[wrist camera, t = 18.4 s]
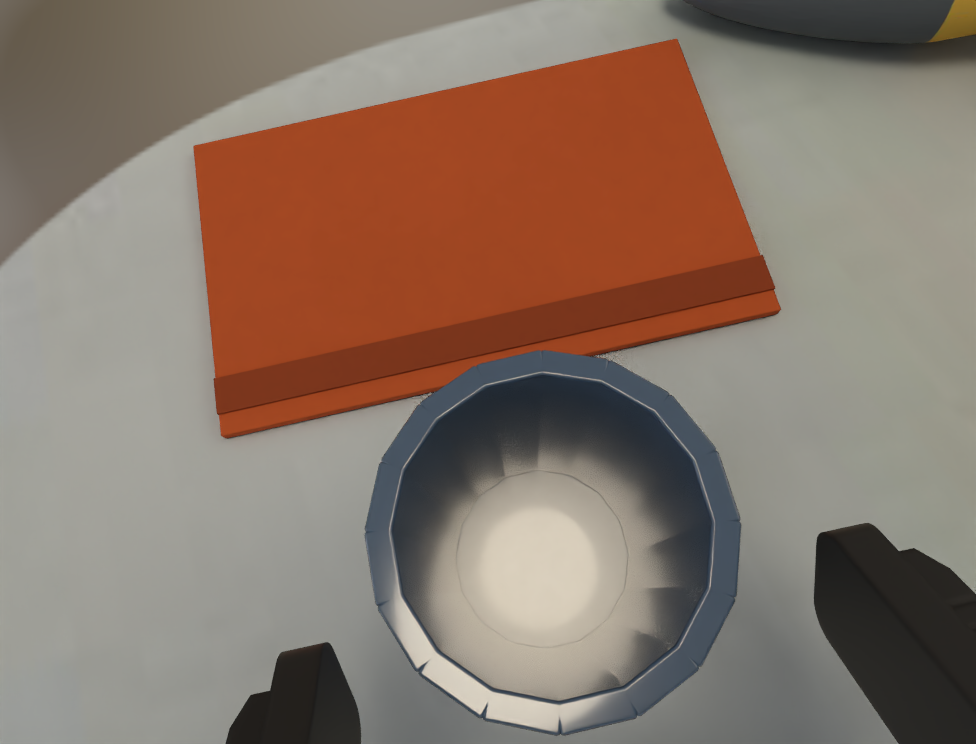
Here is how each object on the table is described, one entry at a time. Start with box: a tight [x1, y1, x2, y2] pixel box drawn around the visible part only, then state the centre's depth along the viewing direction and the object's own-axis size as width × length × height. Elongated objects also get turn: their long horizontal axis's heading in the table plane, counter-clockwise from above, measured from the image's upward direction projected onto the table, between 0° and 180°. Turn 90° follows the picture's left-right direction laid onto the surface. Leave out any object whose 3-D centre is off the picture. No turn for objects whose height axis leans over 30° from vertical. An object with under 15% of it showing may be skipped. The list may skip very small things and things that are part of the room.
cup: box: [365, 350, 741, 736], centre depth 15 cm, size 6×6×10 cm
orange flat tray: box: [194, 39, 781, 438], centre depth 23 cm, size 18×11×1 cm, turn 102°
